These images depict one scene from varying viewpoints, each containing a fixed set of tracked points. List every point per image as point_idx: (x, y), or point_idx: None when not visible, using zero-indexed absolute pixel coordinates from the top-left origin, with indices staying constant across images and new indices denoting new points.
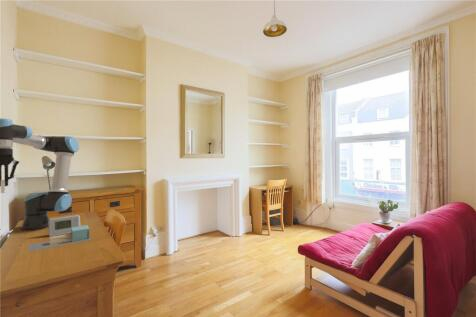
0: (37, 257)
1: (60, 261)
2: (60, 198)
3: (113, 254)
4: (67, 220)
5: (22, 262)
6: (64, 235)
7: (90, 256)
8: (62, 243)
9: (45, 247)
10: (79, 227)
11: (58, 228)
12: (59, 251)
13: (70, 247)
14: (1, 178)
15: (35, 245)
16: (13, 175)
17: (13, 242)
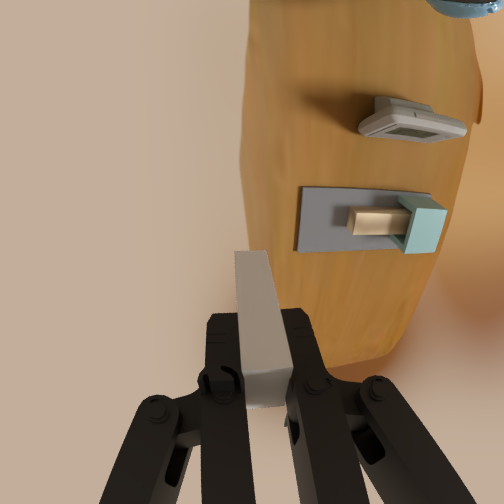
0: (310, 293)
1: (336, 330)
2: (475, 7)
3: (395, 335)
4: (431, 132)
5: (285, 305)
6: (388, 220)
7: (374, 330)
8: (370, 235)
9: (334, 243)
10: (428, 224)
11: (394, 133)
12: (350, 281)
13: (373, 267)
14: (245, 403)
15: (317, 206)
16: (407, 415)
17: (256, 102)
